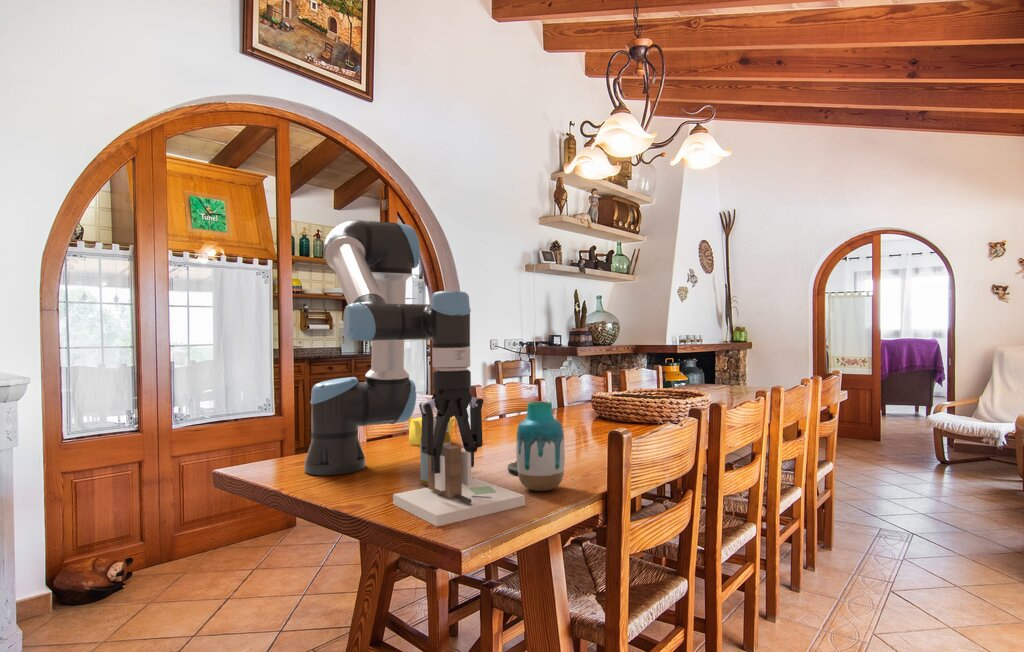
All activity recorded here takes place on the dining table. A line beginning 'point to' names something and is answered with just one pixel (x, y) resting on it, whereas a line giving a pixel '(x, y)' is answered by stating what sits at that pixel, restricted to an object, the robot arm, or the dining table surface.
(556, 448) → the vase
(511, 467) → the log
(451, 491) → the brown wooden block
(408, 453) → the dining table surface
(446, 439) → the bottle
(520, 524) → the dining table surface
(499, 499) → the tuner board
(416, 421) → the teapot
